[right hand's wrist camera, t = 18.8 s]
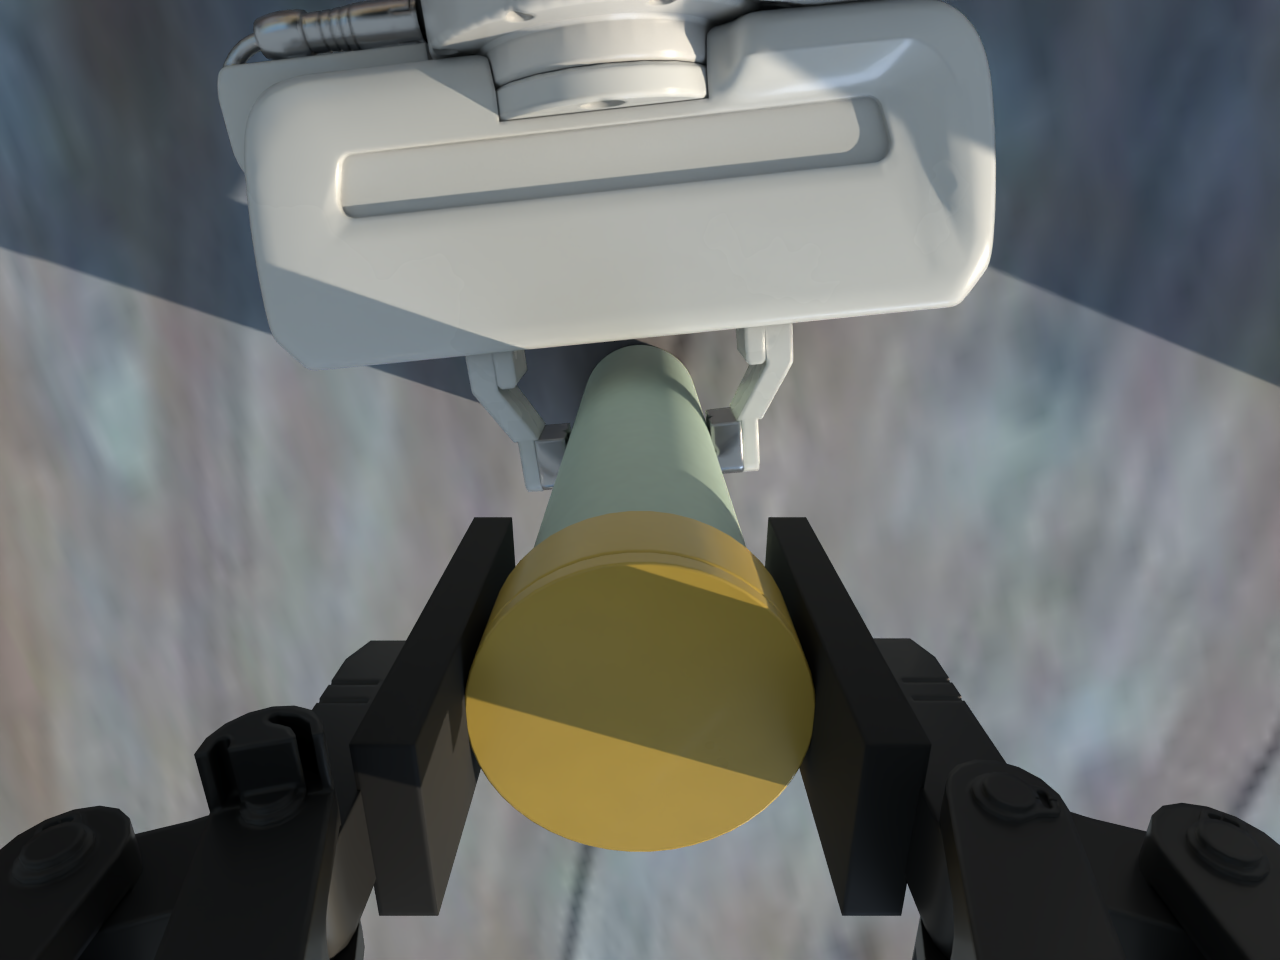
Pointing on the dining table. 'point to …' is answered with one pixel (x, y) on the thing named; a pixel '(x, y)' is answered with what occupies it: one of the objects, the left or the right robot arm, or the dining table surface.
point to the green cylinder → (640, 448)
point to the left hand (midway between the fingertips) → (644, 476)
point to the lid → (640, 685)
